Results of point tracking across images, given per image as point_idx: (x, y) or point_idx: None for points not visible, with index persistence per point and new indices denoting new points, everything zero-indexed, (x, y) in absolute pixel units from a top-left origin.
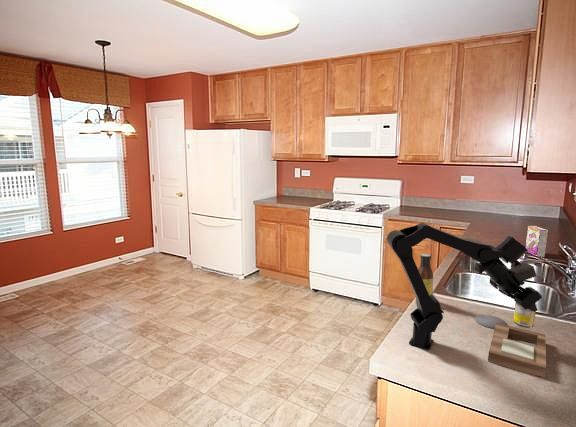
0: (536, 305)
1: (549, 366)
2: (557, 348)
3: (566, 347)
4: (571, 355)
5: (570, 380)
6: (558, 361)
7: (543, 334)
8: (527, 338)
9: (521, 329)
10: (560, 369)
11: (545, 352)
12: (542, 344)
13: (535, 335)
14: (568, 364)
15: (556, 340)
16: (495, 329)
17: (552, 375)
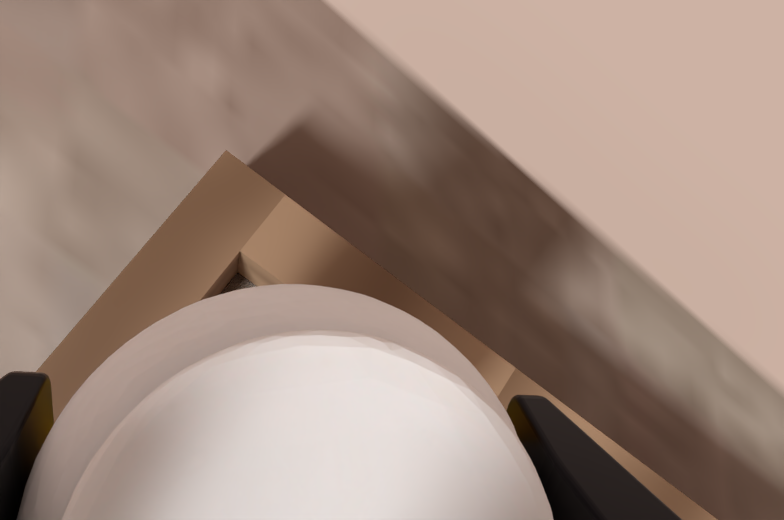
0: (455, 348)
1: (609, 426)
2: (327, 129)
3: (312, 34)
4: (441, 100)
5: (774, 391)
6: (533, 287)
7: (222, 169)
8: None
9: (76, 355)
10: (644, 360)
11: (587, 424)
12: None
13: (226, 271)
14: (573, 236)
15: (181, 22)
16: None
17: (727, 493)
